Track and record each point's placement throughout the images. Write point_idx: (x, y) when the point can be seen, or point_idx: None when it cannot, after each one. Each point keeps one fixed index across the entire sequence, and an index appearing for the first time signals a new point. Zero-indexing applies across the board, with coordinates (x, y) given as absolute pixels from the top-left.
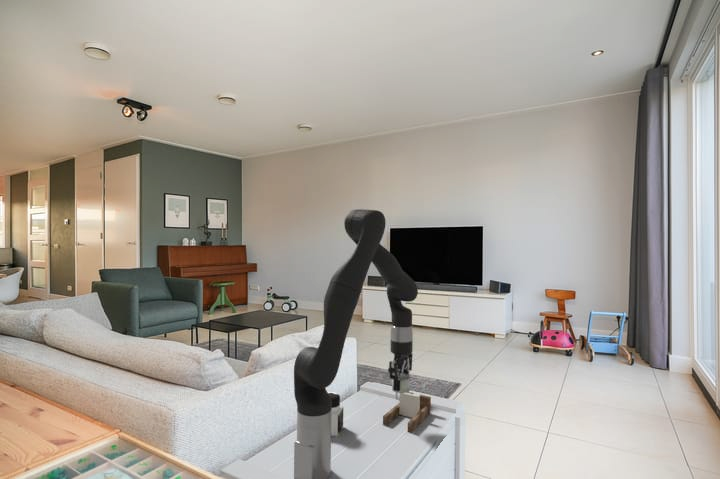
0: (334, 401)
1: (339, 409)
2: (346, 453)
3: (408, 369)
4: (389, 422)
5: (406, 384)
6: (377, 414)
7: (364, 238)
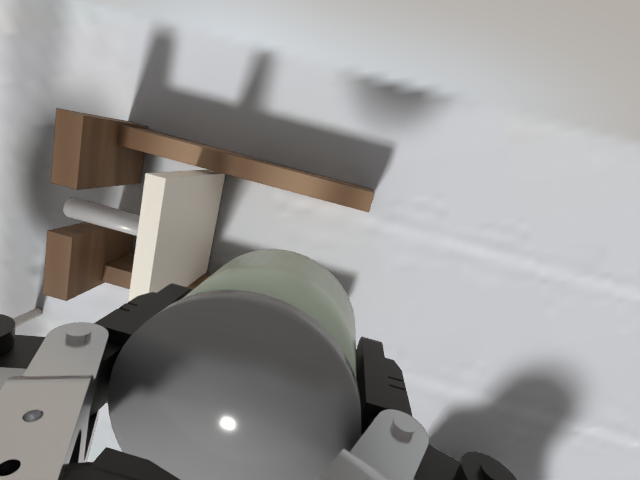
0: None
1: None
2: (617, 414)
3: (60, 366)
4: None
5: (322, 300)
6: None
7: None
